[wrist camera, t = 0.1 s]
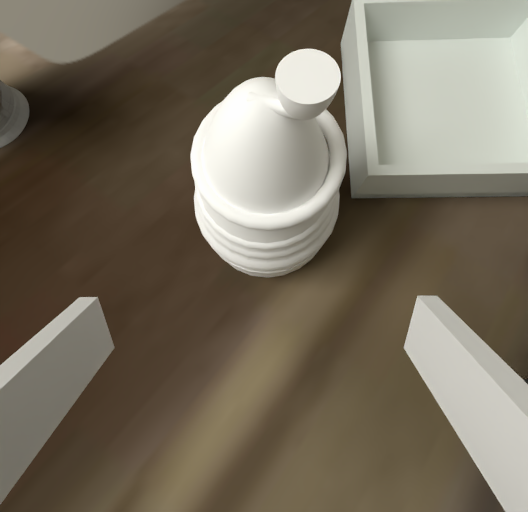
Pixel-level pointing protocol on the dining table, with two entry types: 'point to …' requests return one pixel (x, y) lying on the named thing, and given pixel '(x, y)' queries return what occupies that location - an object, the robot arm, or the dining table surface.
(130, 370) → the dining table surface
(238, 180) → the honey pot
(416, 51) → the tote
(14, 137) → the white and black mug
